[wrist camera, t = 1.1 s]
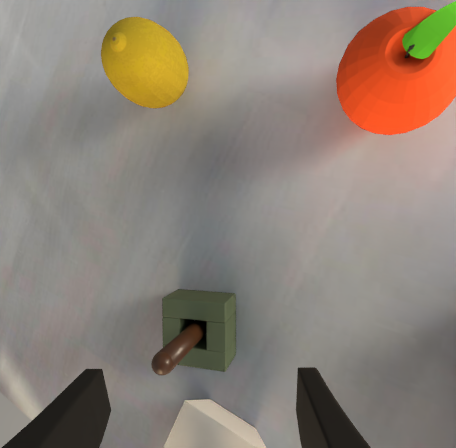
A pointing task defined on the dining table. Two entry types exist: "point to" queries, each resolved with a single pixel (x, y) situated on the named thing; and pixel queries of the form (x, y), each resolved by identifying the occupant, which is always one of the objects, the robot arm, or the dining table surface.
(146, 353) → the dining table surface
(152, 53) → the lemon
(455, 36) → the clementine
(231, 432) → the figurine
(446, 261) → the dining table surface
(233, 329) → the holder
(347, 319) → the dining table surface
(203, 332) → the stick
